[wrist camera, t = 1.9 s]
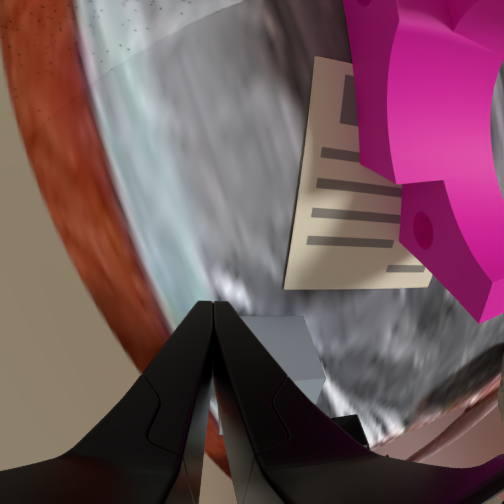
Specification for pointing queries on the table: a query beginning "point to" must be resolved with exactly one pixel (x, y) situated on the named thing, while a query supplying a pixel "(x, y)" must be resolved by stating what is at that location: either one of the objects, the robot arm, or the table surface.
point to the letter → (345, 201)
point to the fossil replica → (501, 393)
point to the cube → (289, 351)
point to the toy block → (436, 133)
